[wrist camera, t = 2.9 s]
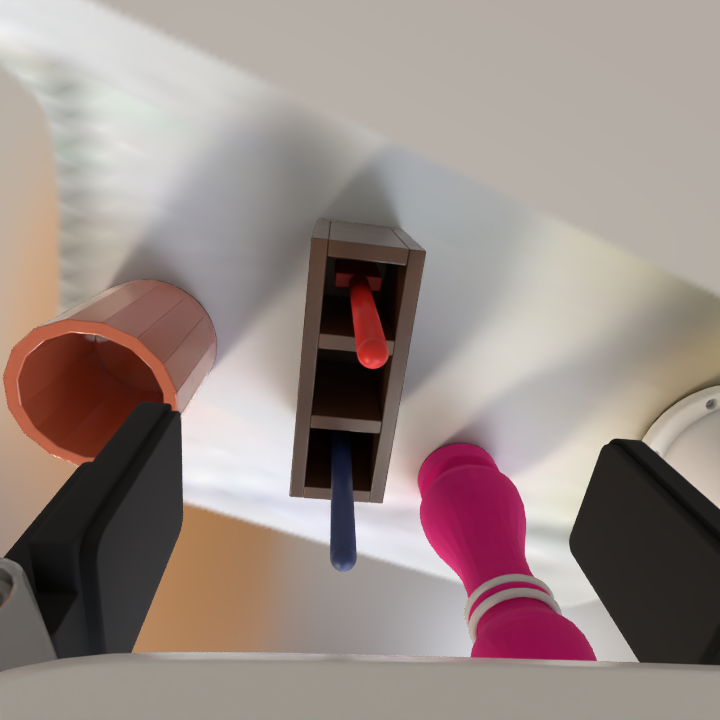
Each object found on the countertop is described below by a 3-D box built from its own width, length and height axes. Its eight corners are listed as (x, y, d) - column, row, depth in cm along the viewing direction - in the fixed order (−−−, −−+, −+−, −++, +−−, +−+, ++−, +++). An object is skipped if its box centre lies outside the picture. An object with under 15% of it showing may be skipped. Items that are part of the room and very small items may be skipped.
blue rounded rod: (359, 391, 34) (377, 559, 19) (357, 405, 34) (373, 579, 20) (322, 388, 34) (313, 555, 19) (321, 402, 34) (310, 575, 20)
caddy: (402, 228, 31) (426, 251, 22) (371, 427, 36) (382, 503, 28) (317, 218, 30) (311, 237, 22) (299, 421, 35) (289, 497, 27)
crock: (218, 286, 31) (175, 329, 23) (216, 400, 35) (178, 475, 26) (84, 272, 31) (-9, 311, 22) (94, 390, 34) (16, 463, 25)
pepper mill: (426, 523, 40) (506, 837, 21) (399, 454, 37) (464, 743, 18) (510, 496, 39) (670, 795, 20) (489, 424, 36) (650, 691, 18)
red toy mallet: (376, 262, 31) (414, 347, 16) (374, 279, 31) (409, 377, 16) (336, 257, 30) (337, 339, 16) (334, 274, 31) (334, 370, 16)
